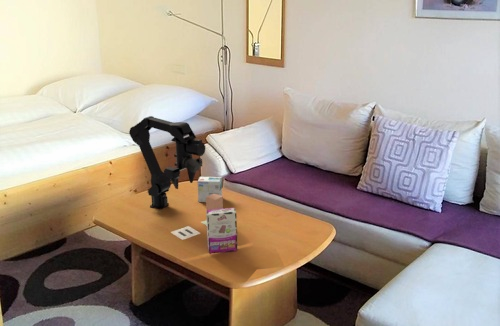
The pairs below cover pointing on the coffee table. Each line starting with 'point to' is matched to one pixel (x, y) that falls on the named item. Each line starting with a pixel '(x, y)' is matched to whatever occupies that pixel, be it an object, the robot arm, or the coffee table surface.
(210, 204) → the terracotta block
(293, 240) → the coffee table surface
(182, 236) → the mat
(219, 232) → the candy bar box
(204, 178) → the light bulb box
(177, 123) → the robot arm
